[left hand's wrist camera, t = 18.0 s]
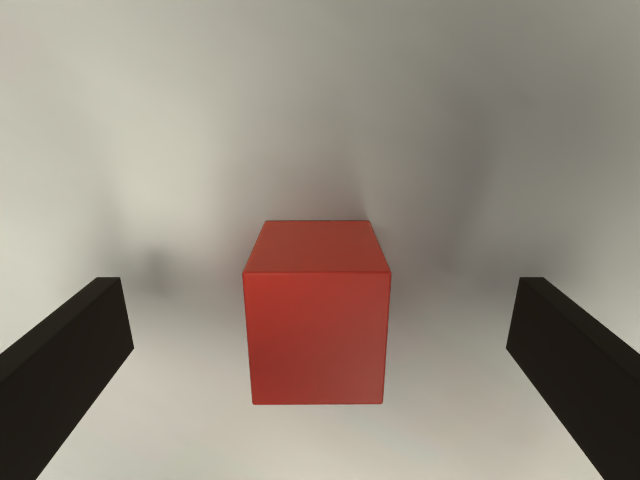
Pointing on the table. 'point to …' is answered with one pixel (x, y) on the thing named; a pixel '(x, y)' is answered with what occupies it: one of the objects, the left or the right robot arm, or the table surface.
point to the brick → (317, 313)
